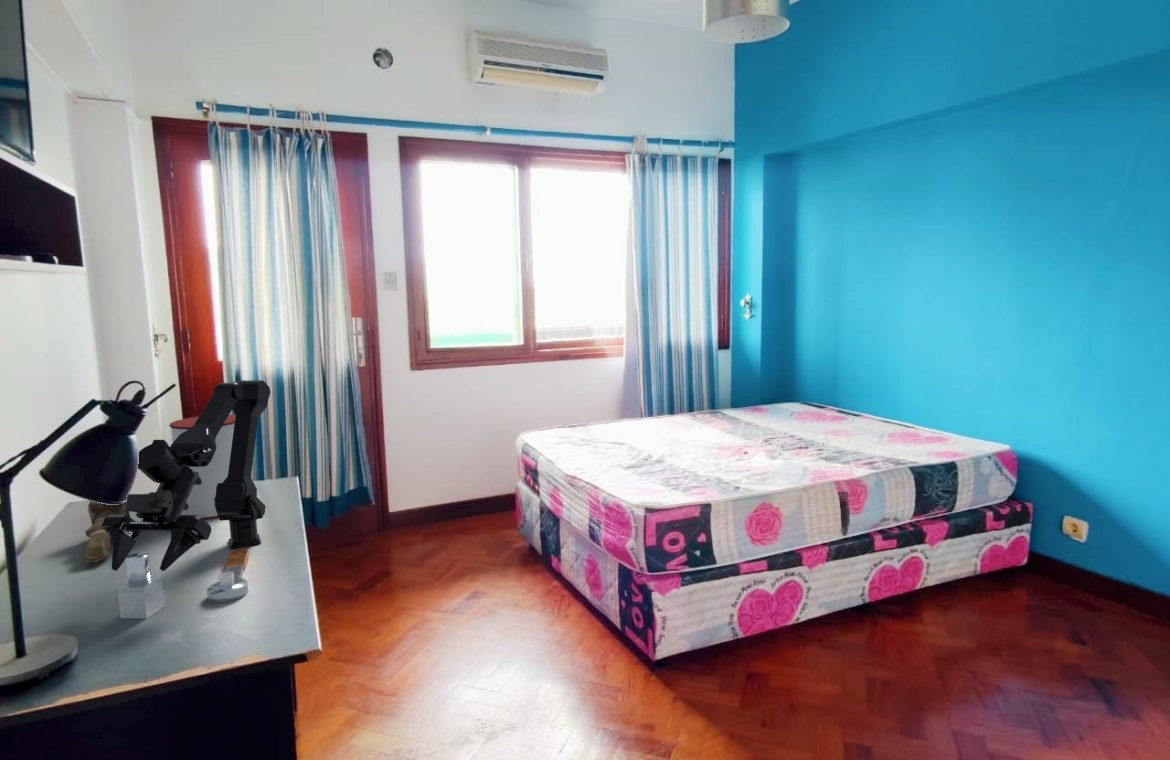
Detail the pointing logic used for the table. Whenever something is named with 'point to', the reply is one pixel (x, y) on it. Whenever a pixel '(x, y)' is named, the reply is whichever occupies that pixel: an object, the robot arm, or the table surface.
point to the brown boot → (100, 530)
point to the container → (208, 468)
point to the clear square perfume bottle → (140, 589)
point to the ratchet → (231, 579)
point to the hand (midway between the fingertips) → (137, 570)
